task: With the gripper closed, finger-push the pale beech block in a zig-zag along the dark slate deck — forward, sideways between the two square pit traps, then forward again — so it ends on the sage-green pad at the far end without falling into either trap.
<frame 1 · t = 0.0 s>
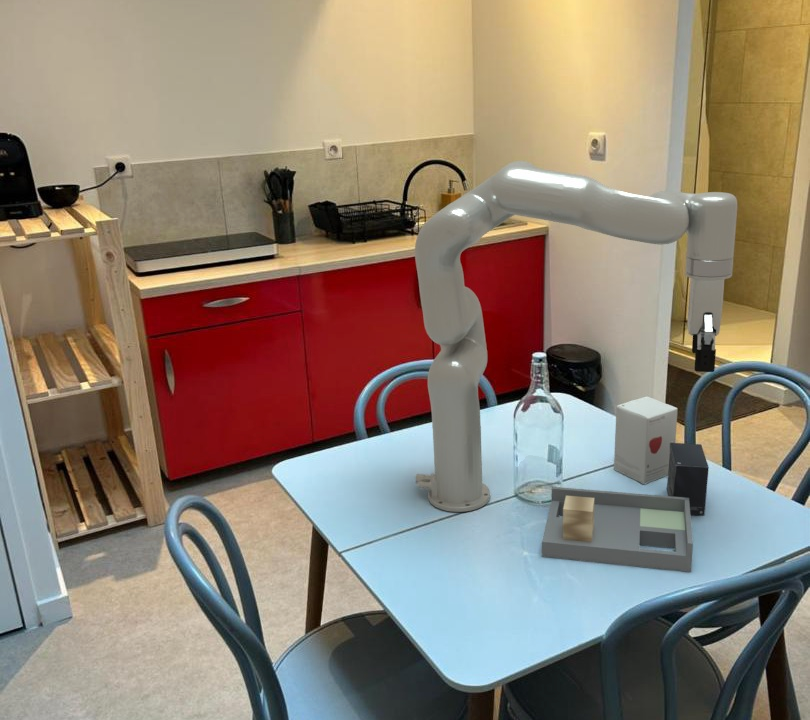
hand: (702, 361, 145), 31 cm above the table, tool pointing down, fingers open, 9 cm apart
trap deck: (616, 539, 149), on the table
supplement box: (643, 472, 174), on the table
beech block: (578, 533, 146), point 3 cm above the table, touching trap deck
small box: (685, 503, 161), on the table
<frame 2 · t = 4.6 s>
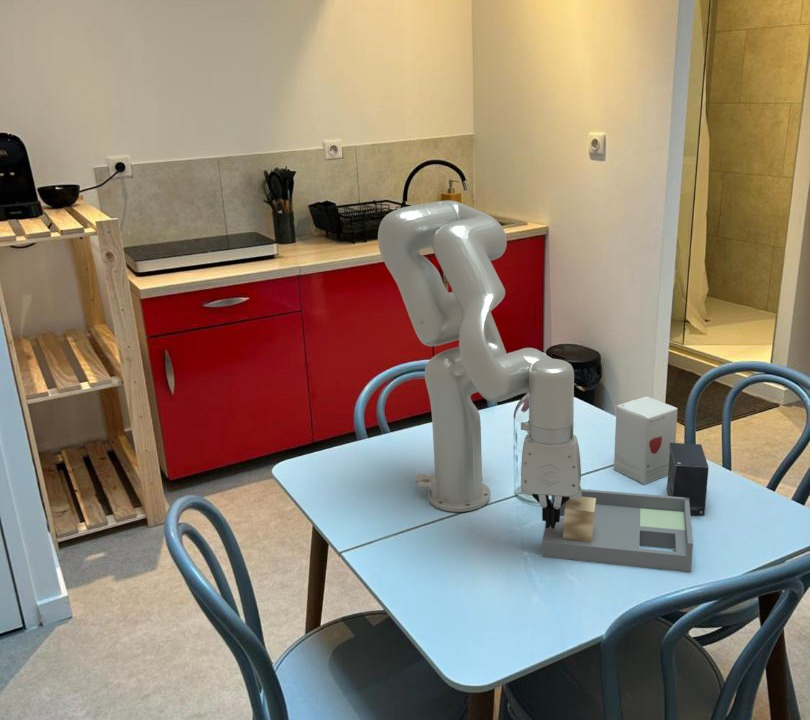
hand: (551, 524, 147), 4 cm above the table, tool pointing down, fingers closed
beech block: (578, 532, 146), point 3 cm above the table, touching gripper, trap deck
everything else where it was.
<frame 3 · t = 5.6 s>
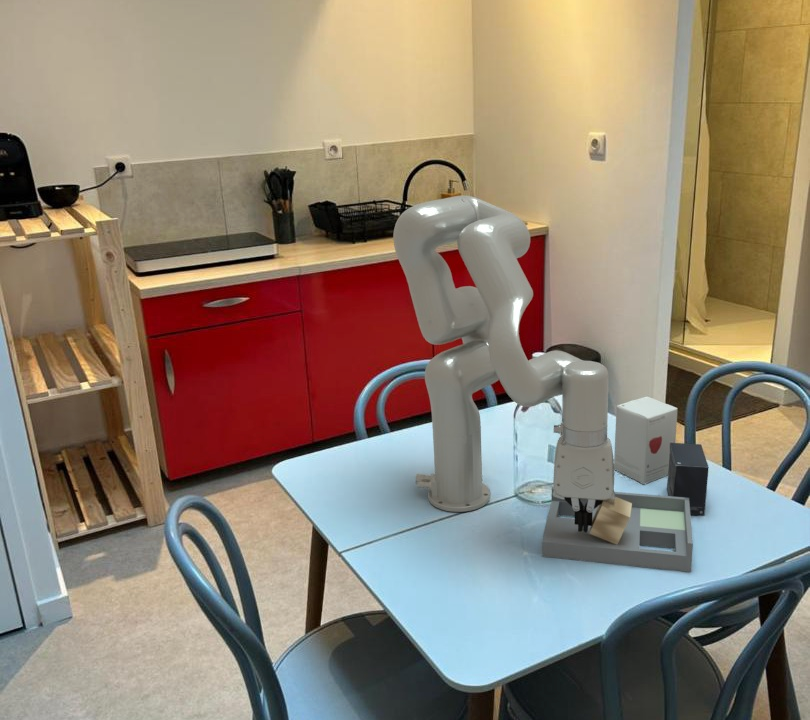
hand: (583, 527, 146), 4 cm above the table, tool pointing down, fingers closed
beech block: (604, 531, 145), point 4 cm above the table, tilted 19°, touching gripper, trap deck
everything else where it was.
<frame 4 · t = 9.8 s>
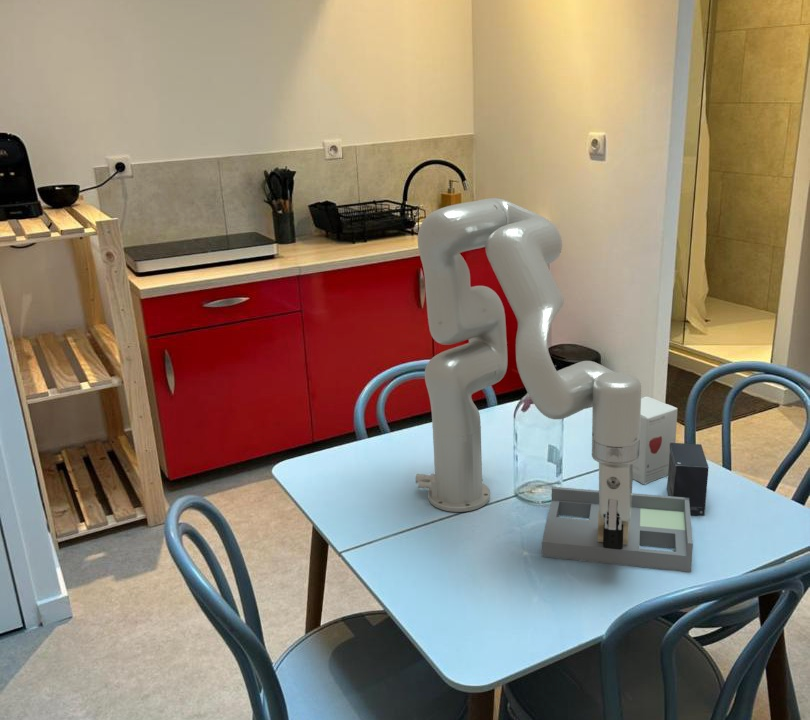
hand: (612, 546, 140), 4 cm above the table, tool pointing down, fingers closed
beech block: (613, 536, 145), point 3 cm above the table, touching gripper, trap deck
everything else where it was.
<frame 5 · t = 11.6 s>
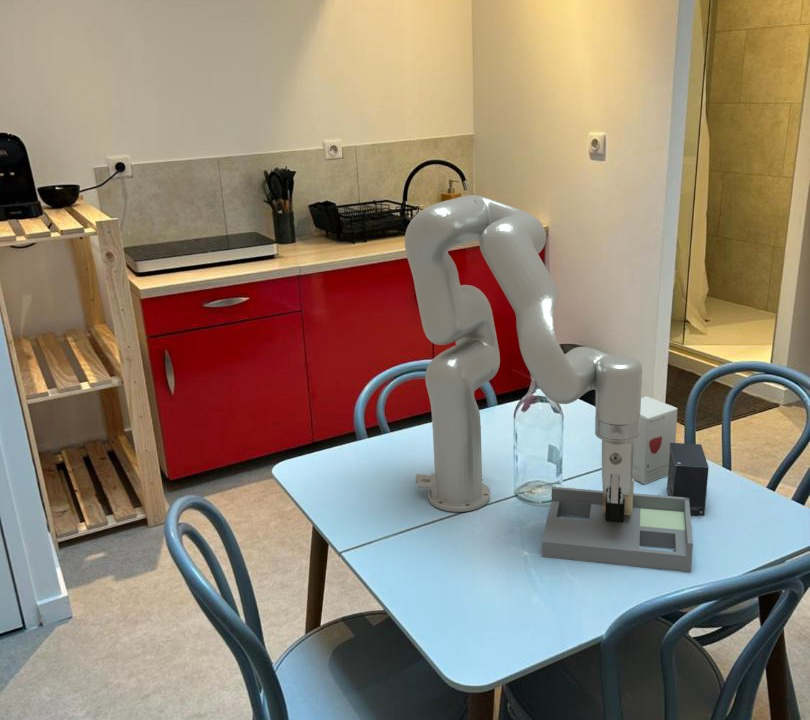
hand: (614, 519, 148), 4 cm above the table, tool pointing down, fingers closed
beech block: (617, 511, 151), point 4 cm above the table, tilted 19°, touching gripper, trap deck
everything else where it was.
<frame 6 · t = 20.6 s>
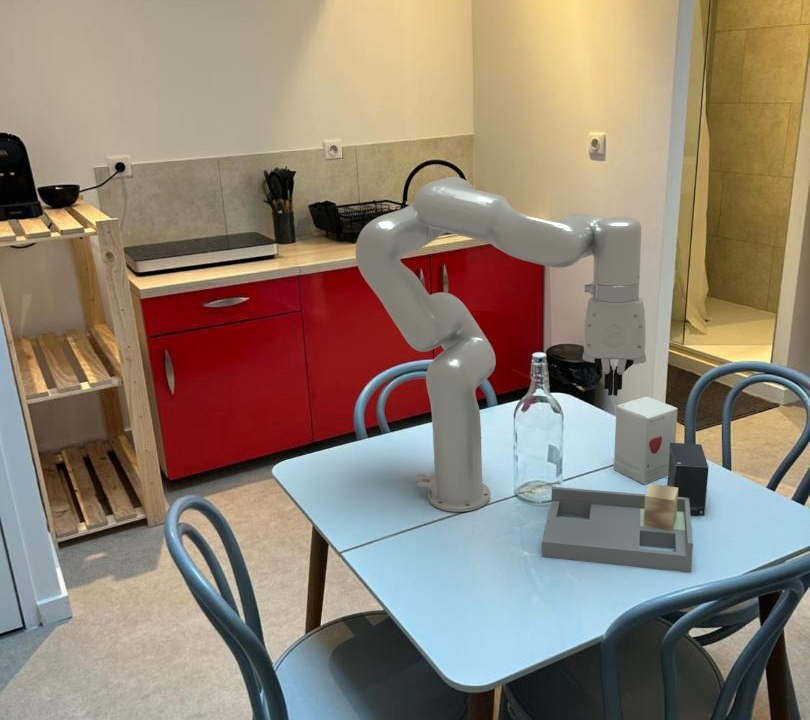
hand: (613, 392, 145), 27 cm above the table, tool pointing down, fingers closed
beech block: (660, 521, 149), point 3 cm above the table, touching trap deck
everything else where it was.
at the end: beech block inside the target area (0.7 cm from its centre), point 3.0 cm above the table; beech block tilted 0° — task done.
